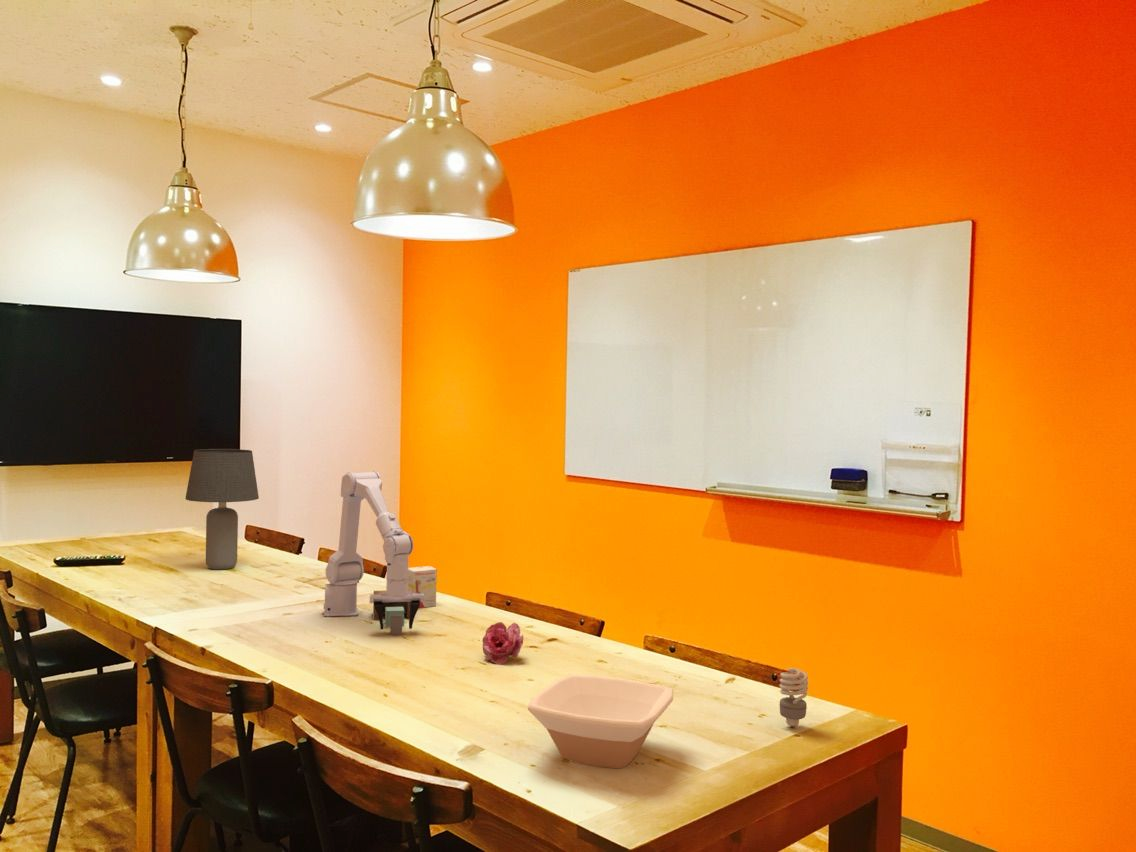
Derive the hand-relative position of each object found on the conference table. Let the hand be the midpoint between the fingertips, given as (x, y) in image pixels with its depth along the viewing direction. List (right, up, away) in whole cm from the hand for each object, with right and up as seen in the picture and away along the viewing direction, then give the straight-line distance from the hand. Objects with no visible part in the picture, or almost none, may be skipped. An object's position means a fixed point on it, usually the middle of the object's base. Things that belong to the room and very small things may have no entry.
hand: (396, 628), depth 253 cm
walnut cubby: (-5, -1, +19) cm, 20 cm away
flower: (+30, -3, -22) cm, 38 cm away
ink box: (+1, -1, +34) cm, 34 cm away
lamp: (-80, +3, +86) cm, 118 cm away
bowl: (+53, -6, -82) cm, 97 cm away
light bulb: (+92, -6, -65) cm, 113 cm away
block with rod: (-1, -1, +6) cm, 6 cm away
